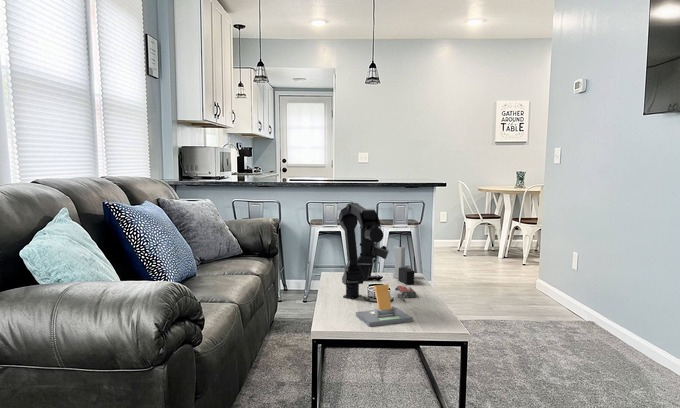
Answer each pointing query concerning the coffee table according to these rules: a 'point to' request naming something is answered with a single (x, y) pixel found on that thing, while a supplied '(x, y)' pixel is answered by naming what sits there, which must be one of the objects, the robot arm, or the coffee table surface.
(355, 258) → the robot arm
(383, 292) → the breaker lever
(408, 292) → the walkie-talkie
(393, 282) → the coffee table surface
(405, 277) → the digital camera
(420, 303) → the coffee table surface
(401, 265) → the vintage mobile phone
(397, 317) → the box
